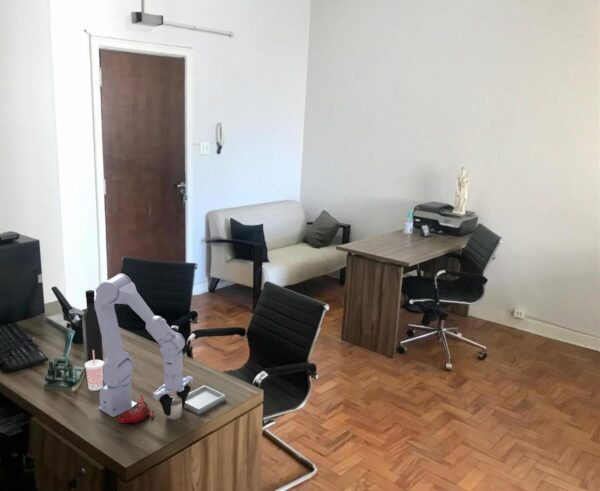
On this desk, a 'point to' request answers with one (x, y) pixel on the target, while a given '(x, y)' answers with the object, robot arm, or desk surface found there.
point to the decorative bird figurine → (136, 413)
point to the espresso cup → (176, 407)
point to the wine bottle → (91, 330)
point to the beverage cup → (94, 373)
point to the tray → (203, 399)
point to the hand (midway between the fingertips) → (174, 410)
